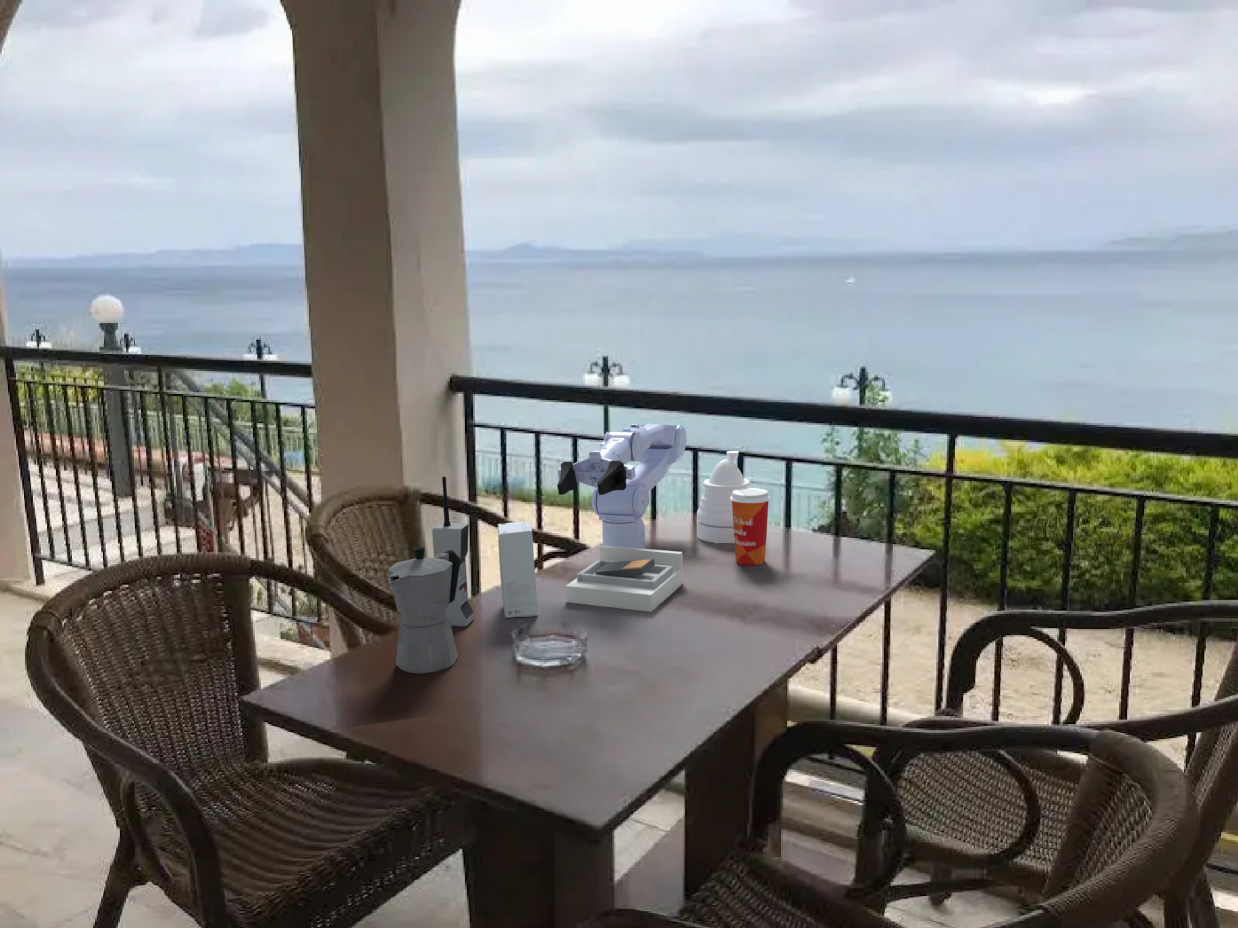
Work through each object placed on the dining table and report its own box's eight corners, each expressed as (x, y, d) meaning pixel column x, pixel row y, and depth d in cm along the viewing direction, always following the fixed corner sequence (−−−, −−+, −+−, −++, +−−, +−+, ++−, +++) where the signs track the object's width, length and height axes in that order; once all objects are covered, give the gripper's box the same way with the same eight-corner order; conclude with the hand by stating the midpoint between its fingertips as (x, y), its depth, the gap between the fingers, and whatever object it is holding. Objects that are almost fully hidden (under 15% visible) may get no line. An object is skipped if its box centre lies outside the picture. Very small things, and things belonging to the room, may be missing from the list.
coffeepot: (422, 683, 143) (413, 562, 140) (373, 672, 148) (363, 554, 144) (487, 647, 156) (481, 535, 153) (440, 637, 161) (433, 529, 158)
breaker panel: (603, 575, 190) (602, 545, 189) (683, 583, 184) (682, 552, 183) (566, 602, 176) (564, 569, 175) (651, 611, 170) (650, 577, 169)
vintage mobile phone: (467, 627, 165) (457, 478, 160) (438, 626, 166) (428, 478, 161) (474, 619, 169) (465, 474, 164) (446, 618, 170) (437, 473, 165)
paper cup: (723, 559, 198) (722, 490, 196) (756, 553, 201) (756, 485, 199) (744, 569, 191) (744, 498, 189) (778, 563, 194) (778, 493, 192)
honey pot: (726, 524, 224) (725, 445, 221) (769, 535, 215) (769, 452, 211) (684, 536, 216) (683, 453, 213) (728, 547, 207) (727, 461, 203)
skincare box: (538, 616, 169) (534, 531, 166) (502, 619, 169) (497, 533, 166) (535, 600, 177) (531, 519, 175) (501, 603, 177) (496, 521, 174)
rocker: (609, 569, 184) (608, 562, 184) (655, 565, 180) (653, 558, 180) (596, 578, 178) (595, 571, 178) (642, 574, 175) (641, 567, 175)
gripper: (567, 443, 190) (538, 468, 178) (640, 441, 185) (614, 467, 173) (573, 478, 192) (545, 505, 180) (644, 477, 187) (620, 505, 175)
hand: (579, 489), depth 176 cm, fingers open, 7 cm apart
